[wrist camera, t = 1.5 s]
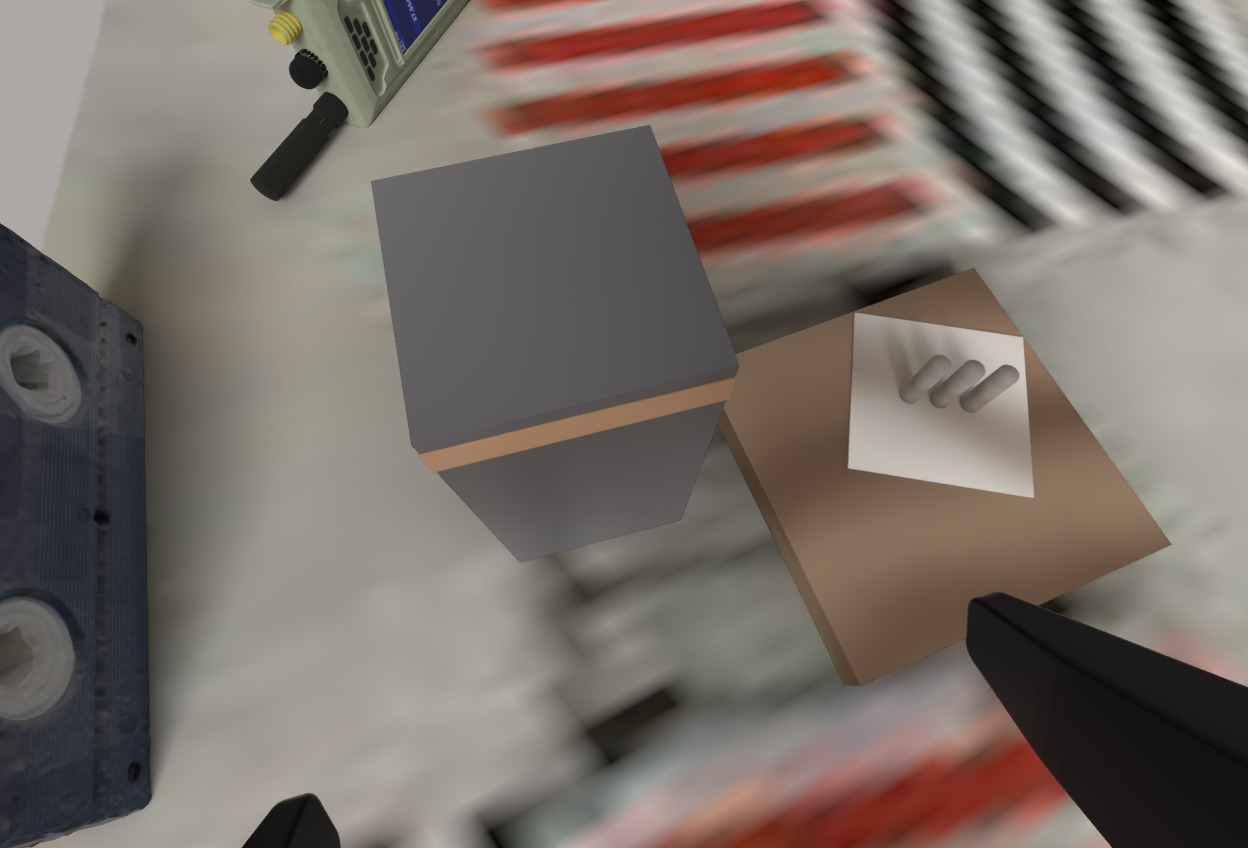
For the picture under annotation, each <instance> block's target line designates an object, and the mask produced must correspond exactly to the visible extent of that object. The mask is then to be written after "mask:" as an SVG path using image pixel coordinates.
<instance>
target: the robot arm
mask: <svg viewBox="0 0 1248 848" xmlns="http://www.w3.org/2000/svg"><path fill="white" fill-rule="evenodd" d="M966 645H967V650H968V652H969V655H970V657H971V659H972V660H973V662H974V664H975V665H976V667H977V668H978V669H979V671H980V672H981V674H982V675H983V677H984V678H985V680H986V681H987V683H988V684H989V686H990V687H991V689H992V690H993V691H994V693H995V694H996V696H997V697H998V699H999V700H1000V702H1001V703H1002V705H1003V706H1004V708H1005V709H1006V711H1007V712H1008V713H1009V715H1010V716H1011V718H1012V719H1013V721H1014V722H1015V724H1016V725H1017V727H1018V728H1019V730H1020V731H1021V733H1022V734H1023V735H1024V737H1025V738H1026V740H1027V741H1028V743H1029V744H1030V746H1031V747H1032V748H1033V750H1034V751H1035V753H1036V754H1037V755H1038V757H1039V758H1040V760H1041V761H1042V762H1043V764H1044V765H1045V766H1046V767H1047V769H1048V770H1049V771H1050V772H1051V774H1052V775H1053V776H1054V778H1055V779H1056V780H1057V781H1058V782H1059V784H1060V785H1061V786H1062V787H1063V789H1064V790H1065V791H1066V792H1067V793H1068V795H1069V796H1070V797H1071V798H1072V800H1073V801H1074V802H1075V803H1076V804H1077V806H1078V807H1079V808H1080V809H1081V810H1082V812H1083V813H1084V814H1085V815H1086V817H1087V818H1088V819H1089V820H1090V821H1091V823H1092V824H1093V825H1094V826H1095V827H1096V829H1097V830H1098V831H1099V832H1100V834H1101V835H1102V836H1103V837H1104V838H1105V840H1106V841H1107V842H1108V843H1109V844H1110V846H1111V847H1112V848H1248V687H1246V686H1243V685H1241V684H1238V683H1236V682H1233V681H1231V680H1228V679H1225V678H1223V677H1220V676H1218V675H1215V674H1212V673H1210V672H1207V671H1205V670H1202V669H1200V668H1197V667H1194V666H1192V665H1189V664H1187V663H1184V662H1182V661H1179V660H1176V659H1174V658H1171V657H1169V656H1166V655H1163V654H1161V653H1158V652H1156V651H1153V650H1151V649H1148V648H1145V647H1143V646H1140V645H1138V644H1135V643H1133V642H1130V641H1127V640H1125V639H1122V638H1120V637H1117V636H1114V635H1112V634H1109V633H1107V632H1104V631H1102V630H1099V629H1096V628H1094V627H1091V626H1089V625H1086V624H1084V623H1081V622H1078V621H1076V620H1073V619H1071V618H1068V617H1065V616H1063V615H1060V614H1058V613H1055V612H1053V611H1050V610H1047V609H1045V608H1042V607H1040V606H1037V605H1035V604H1032V603H1029V602H1027V601H1024V600H1022V599H1019V598H1016V597H1014V596H1011V595H1009V594H1006V593H1003V592H992V593H988V594H985V595H981V596H978V597H975V598H973V599H971V600H970V602H969V604H968V611H967V630H966ZM242 848H341V846H340V838H339V835H338V832H337V830H336V828H335V826H334V824H333V823H332V821H331V819H330V818H329V816H328V814H327V812H326V811H325V809H324V807H323V805H322V804H321V802H320V800H319V799H318V797H317V796H316V795H314V794H312V793H306V794H303V795H299V796H296V797H292V798H289V799H286V800H283V801H281V802H279V803H278V804H276V805H275V806H274V807H273V808H272V809H271V811H270V812H269V813H268V815H267V816H266V817H265V818H264V820H263V821H262V822H261V824H260V825H259V826H258V827H257V829H256V830H255V831H254V832H253V834H252V835H251V836H250V838H249V839H248V840H247V841H246V843H245V844H244V845H243V847H242Z"/></svg>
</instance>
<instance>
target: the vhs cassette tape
mask: <svg viewBox="0 0 1248 848" xmlns="http://www.w3.org/2000/svg"><path fill="white" fill-rule="evenodd" d="M148 730H149V677H148V602H147V549H146V481H145V418H144V368H143V328H142V325H141V323H140V322H139V321H137V320H136V319H134V318H132V317H131V316H130V315H129V314H128V313H126V312H125V311H123V310H122V309H120V308H119V307H117V306H116V305H114V304H113V303H112V302H110V301H108V300H105V299H102V298H100V297H99V293H98V292H96V291H95V290H93V289H92V288H91V287H89V286H88V285H87V284H86V283H84V282H83V281H81V280H80V279H79V278H77V277H76V276H74V275H73V274H72V273H70V272H69V271H68V270H66V269H65V268H64V267H62V266H61V265H59V264H58V263H56V262H55V261H53V260H52V259H51V258H49V257H47V256H46V255H44V254H43V253H41V252H40V251H39V250H37V249H36V248H35V247H33V246H32V245H30V244H29V243H28V242H26V241H25V240H24V239H22V238H21V237H20V236H18V235H17V234H16V233H14V232H13V231H12V230H10V229H8V228H7V227H5V226H4V225H2V224H0V848H27V847H33V846H35V845H37V844H38V843H41V842H46V841H51V840H55V839H57V838H60V837H62V836H68V835H70V834H71V833H73V832H75V831H78V830H82V829H86V828H90V827H94V826H98V825H102V824H105V823H108V822H111V821H114V820H117V819H119V818H122V817H125V816H128V815H129V814H131V813H134V812H137V811H139V810H142V809H143V808H145V807H146V806H147V805H148V804H149V802H150V800H151V798H152V797H151V786H150V773H149V753H150V743H151V740H150V737H149V735H148Z"/></svg>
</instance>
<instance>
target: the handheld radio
mask: <svg viewBox="0 0 1248 848" xmlns="http://www.w3.org/2000/svg"><path fill="white" fill-rule="evenodd" d="M468 1H469V0H249V2H252V3H253V5H256V6H259V7H262V8H266V9H271V10H273V11H274V12H275V14H276V16H275V17H274V18H273V19H272V21H270V22H269V24H268V26H269V27H268V28H269V32H270V33H271V35H272V36H273V37H274V38H275V39H276V40H277V41H278V42H280V43H281V44H284V45H286V44H290V43H292V45H293V47H294V49H295V50H296V52H297V54H296V55H295V58H294V60H293V61H292V62H291V63H290V67H289V72H290V75H291V78H292V79H293V80H294V82H295V83H296V84H297V85H299V86H300V87H302V88H305V89H313V88H315V87H316V89H317V90H318V92H319V94H320V96H321V97H320V98H319V99H318V100H317V101H316V103H315V104H314V105H313V111H312V112H311V113H310V114H309V115H308V116H307V118H305V119H302V121H301V122H300V123H299V124H298V125H297V126H296V127H295V129H294V130H293V131H292V132H291V133H290V134H289V135H288V137H287V138H286V139H285V140H284V141H283V142H282V143H281V145H280V146H279V147H278V148H277V149H276V150H275V151H274V153H273V154H272V155H271V156H270V157H269V158H268V159H267V161H266V162H265V163H264V164H263V165H262V166H261V167H260V169H259V170H258V171H257V172H256V173H255V174H254V175H253V177H252V178H251V179H250V180H251V183H252V184H253V186H254V187H255V188H256V189H257V190H258V191H259V192H260V193H261V194H263V195H264V196H266V197H268V198H270V199H272V200H274V201H278V200H279V199H280V198H281V197H282V196H283V194H284V193H285V192H286V191H287V190H288V188H289V187H290V186H291V185H292V183H293V182H294V181H295V180H296V179H297V177H298V176H299V175H300V174H301V172H302V171H303V170H304V169H305V168H306V166H307V165H308V164H309V163H310V161H311V160H312V159H313V158H314V156H315V155H316V154H317V153H318V152H319V150H320V149H321V148H322V147H323V145H324V144H325V143H326V142H327V141H328V135H329V134H330V132H331V131H332V130H333V129H334V128H338V127H339V126H340V125H341V123H342V122H346V123H348V124H351V125H353V126H356V127H359V128H367V127H368V126H369V125H370V124H371V123H372V122H373V120H374V119H375V118H376V117H377V115H378V114H379V113H380V112H381V110H382V109H383V108H384V107H385V105H386V104H387V103H388V101H389V100H390V99H391V98H392V96H393V95H394V94H395V93H396V91H397V90H398V89H399V88H400V86H401V85H402V84H403V83H404V81H405V80H406V79H407V78H408V76H409V75H410V74H411V73H412V71H413V70H414V69H415V68H416V66H417V65H418V64H419V63H420V61H421V60H422V59H423V57H424V56H425V55H426V54H427V52H428V51H429V50H430V49H431V47H432V46H433V45H434V44H435V42H436V41H437V40H438V39H439V37H440V36H441V35H442V34H443V32H444V31H445V30H446V29H447V27H448V26H449V25H450V24H451V22H452V21H453V20H454V18H455V17H456V16H457V15H458V13H459V12H460V11H461V10H462V8H463V7H464V6H465V5H466V3H467V2H468Z"/></svg>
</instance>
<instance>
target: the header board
mask: <svg viewBox="0 0 1248 848" xmlns="http://www.w3.org/2000/svg"><path fill="white" fill-rule="evenodd" d="M736 357H737V359H738V362H739V365H740V366H739V368H738V371H737V373H736V376H737V380H736V382H735V385H734V387H733V390H732V393H731V395H730V398H729V399H728V400H726V402H725V405H724V408H723V410H722V413H721V415H720V418H719V421H718V425H719V427H720V429H721V431H722V433H723V435H724V437H725V439H726V441H727V443H728V445H729V448H730V450H731V452H732V454H733V456H734V458H735V460H736V462H737V464H738V466H739V468H740V470H741V472H742V474H743V476H744V478H745V480H746V483H747V485H748V487H749V489H750V491H751V493H752V495H753V497H754V499H755V501H756V503H757V505H758V507H759V509H760V511H761V513H762V516H763V518H764V520H765V522H766V524H767V526H768V528H769V530H770V532H771V534H772V536H773V538H774V540H775V542H776V544H777V546H778V548H779V551H780V553H781V555H782V557H783V559H784V561H785V563H786V565H787V567H788V569H789V571H790V573H791V575H792V577H793V579H794V581H795V584H796V586H797V588H798V590H799V592H800V594H801V596H802V598H803V600H804V602H805V604H806V606H807V608H808V610H809V612H810V614H811V616H812V619H813V621H814V623H815V625H816V627H817V629H818V631H819V633H820V635H821V637H822V639H823V641H824V643H825V645H826V647H827V649H828V652H829V654H830V656H831V658H832V660H833V662H834V664H835V666H836V668H837V670H838V672H839V674H840V676H841V678H842V680H843V682H844V684H845V685H849V686H862V685H864V684H866V683H869V682H871V681H873V680H875V679H877V678H880V677H882V676H884V675H886V674H888V673H891V672H893V671H895V670H897V669H899V668H902V667H904V666H906V665H908V664H910V663H913V662H915V661H917V660H919V659H921V658H924V657H926V656H928V655H930V654H932V653H935V652H937V651H939V650H941V649H943V648H946V647H948V646H950V645H952V644H954V643H957V642H959V641H961V640H963V639H965V638H966V630H967V611H968V604H969V602H970V600H971V599H973V598H975V597H978V596H981V595H985V594H988V593H992V592H1003V593H1006V594H1009V595H1011V596H1014V597H1016V598H1019V599H1022V600H1024V601H1027V602H1029V603H1032V604H1035V605H1037V606H1038V605H1040V604H1042V603H1044V602H1047V601H1049V600H1051V599H1053V598H1055V597H1058V596H1060V595H1062V594H1064V593H1066V592H1069V591H1071V590H1073V589H1075V588H1077V587H1080V586H1082V585H1084V584H1086V583H1088V582H1091V581H1093V580H1095V579H1097V578H1099V577H1102V576H1104V575H1106V574H1108V573H1110V572H1113V571H1115V570H1117V569H1119V568H1121V567H1123V566H1126V565H1128V564H1130V563H1132V562H1134V561H1137V560H1139V559H1141V558H1143V557H1145V556H1148V555H1150V554H1152V553H1154V552H1156V551H1159V550H1161V549H1163V548H1165V547H1167V546H1170V545H1172V544H1171V543H1170V542H1169V540H1168V539H1167V537H1166V536H1165V535H1164V533H1163V532H1162V530H1161V529H1160V528H1159V526H1158V525H1157V523H1156V522H1155V521H1154V519H1153V518H1152V516H1151V515H1150V514H1149V512H1148V511H1147V509H1146V508H1145V507H1144V505H1143V504H1142V502H1141V501H1140V500H1139V498H1138V497H1137V495H1136V494H1135V493H1134V491H1133V490H1132V488H1131V487H1130V486H1129V484H1128V483H1127V481H1126V480H1125V479H1124V477H1123V476H1122V474H1121V473H1120V472H1119V470H1118V469H1117V467H1116V466H1115V465H1114V463H1113V462H1112V460H1111V459H1110V458H1109V456H1108V455H1107V453H1106V452H1105V451H1104V449H1103V448H1102V446H1101V445H1100V444H1099V442H1098V441H1097V439H1096V438H1095V437H1094V435H1093V434H1092V432H1091V431H1090V430H1089V428H1088V427H1087V425H1086V424H1085V423H1084V421H1083V420H1082V418H1081V417H1080V416H1079V414H1078V413H1077V411H1076V410H1075V409H1074V407H1073V406H1072V404H1071V403H1070V402H1069V400H1068V399H1067V397H1066V396H1065V395H1064V393H1063V392H1062V390H1061V389H1060V388H1059V386H1058V385H1057V384H1056V382H1055V381H1054V379H1053V378H1052V377H1051V375H1050V374H1049V372H1048V371H1047V370H1046V368H1045V367H1044V365H1043V364H1042V363H1041V361H1040V360H1039V358H1038V357H1037V356H1036V354H1035V353H1034V351H1033V350H1032V349H1031V347H1030V346H1029V344H1028V343H1027V342H1026V340H1025V339H1024V337H1023V336H1022V335H1021V333H1020V332H1019V330H1018V329H1017V328H1016V326H1015V325H1014V323H1013V322H1012V321H1011V319H1010V318H1009V316H1008V315H1007V314H1006V312H1005V311H1004V309H1003V308H1002V307H1001V305H1000V304H999V302H998V301H997V300H996V298H995V297H994V295H993V294H992V293H991V291H990V290H989V288H988V287H987V286H986V284H985V283H984V281H983V280H982V279H981V277H980V276H979V274H978V273H977V272H976V270H975V269H974V268H973V269H970V270H967V271H964V272H961V273H959V274H956V275H953V276H950V277H948V278H945V279H942V280H939V281H937V282H934V283H931V284H928V285H925V286H923V287H920V288H917V289H914V290H912V291H909V292H906V293H903V294H901V295H898V296H895V297H892V298H889V299H887V300H884V301H881V302H878V303H876V304H873V305H870V306H867V307H865V308H862V309H859V310H856V311H853V312H851V313H848V314H845V315H842V316H840V317H837V318H834V319H831V320H829V321H826V322H823V323H820V324H817V325H815V326H812V327H809V328H806V329H804V330H801V331H798V332H795V333H793V334H790V335H787V336H784V337H781V338H779V339H776V340H773V341H770V342H768V343H765V344H762V345H759V346H757V347H754V348H751V349H748V350H745V351H743V352H740V353H737V354H736Z"/></svg>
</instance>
